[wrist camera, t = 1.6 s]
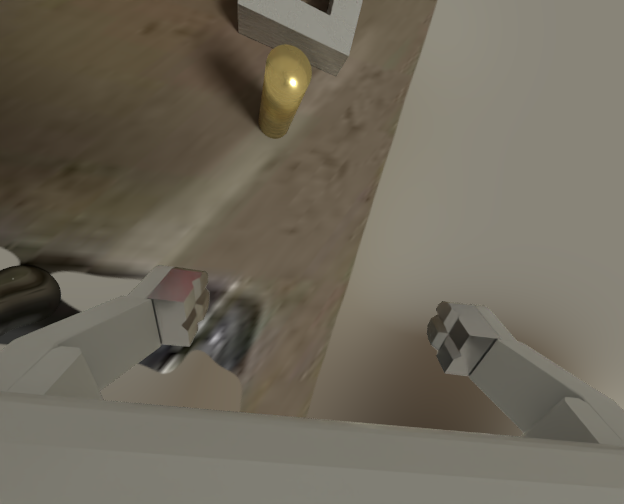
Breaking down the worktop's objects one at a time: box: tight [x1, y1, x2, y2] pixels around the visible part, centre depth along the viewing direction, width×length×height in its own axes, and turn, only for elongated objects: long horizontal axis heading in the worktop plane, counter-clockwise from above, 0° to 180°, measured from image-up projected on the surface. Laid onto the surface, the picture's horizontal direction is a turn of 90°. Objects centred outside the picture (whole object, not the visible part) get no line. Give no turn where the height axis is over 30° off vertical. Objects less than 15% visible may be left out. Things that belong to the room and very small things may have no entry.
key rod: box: [259, 44, 312, 139], centre depth 25 cm, size 4×4×11 cm
